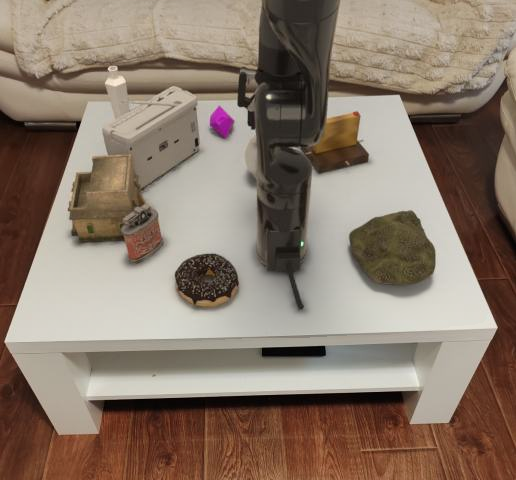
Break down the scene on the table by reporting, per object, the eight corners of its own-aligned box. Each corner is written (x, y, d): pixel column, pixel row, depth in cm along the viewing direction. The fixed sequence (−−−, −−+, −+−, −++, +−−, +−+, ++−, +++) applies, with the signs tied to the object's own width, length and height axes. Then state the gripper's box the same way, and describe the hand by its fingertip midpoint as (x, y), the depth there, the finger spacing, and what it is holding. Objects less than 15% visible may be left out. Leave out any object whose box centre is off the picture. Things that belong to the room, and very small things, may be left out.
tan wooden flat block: (315, 153, 124) (318, 123, 119) (312, 150, 125) (315, 119, 120) (356, 144, 127) (361, 114, 121) (353, 140, 127) (357, 110, 122)
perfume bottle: (113, 128, 134) (99, 65, 122) (131, 124, 136) (118, 61, 124) (119, 138, 132) (104, 75, 120) (137, 134, 133) (124, 71, 121)
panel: (317, 180, 122) (318, 172, 120) (292, 144, 130) (292, 136, 128) (376, 166, 125) (378, 157, 123) (348, 132, 133) (349, 123, 131)
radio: (179, 137, 132) (168, 50, 116) (205, 150, 129) (197, 62, 113) (112, 180, 122) (89, 92, 106) (138, 196, 119) (119, 107, 103)
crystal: (207, 131, 133) (205, 113, 130) (221, 121, 136) (220, 103, 132) (224, 139, 131) (223, 121, 128) (238, 129, 134) (238, 111, 130)
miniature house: (150, 194, 120) (141, 146, 110) (147, 239, 111) (137, 192, 102) (78, 198, 119) (63, 150, 110) (70, 244, 110) (53, 196, 101)
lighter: (155, 236, 112) (146, 195, 104) (167, 243, 110) (160, 202, 102) (124, 258, 108) (113, 217, 100) (137, 266, 107) (126, 225, 99)
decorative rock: (353, 299, 103) (355, 263, 95) (347, 236, 112) (348, 198, 104) (437, 295, 102) (446, 257, 94) (424, 231, 111) (431, 191, 102)
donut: (209, 255, 108) (208, 240, 105) (252, 288, 103) (251, 272, 100) (164, 285, 104) (161, 270, 101) (206, 321, 99) (204, 306, 95)
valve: (291, 190, 135) (302, 124, 132) (289, 185, 116) (302, 107, 112) (249, 183, 135) (259, 117, 132) (239, 176, 116) (251, 99, 113)
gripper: (235, 45, 87) (235, 138, 100) (327, 51, 87) (316, 143, 100) (239, 23, 92) (239, 115, 105) (327, 28, 92) (316, 120, 105)
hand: (276, 129), depth 103 cm, fingers open, 8 cm apart
